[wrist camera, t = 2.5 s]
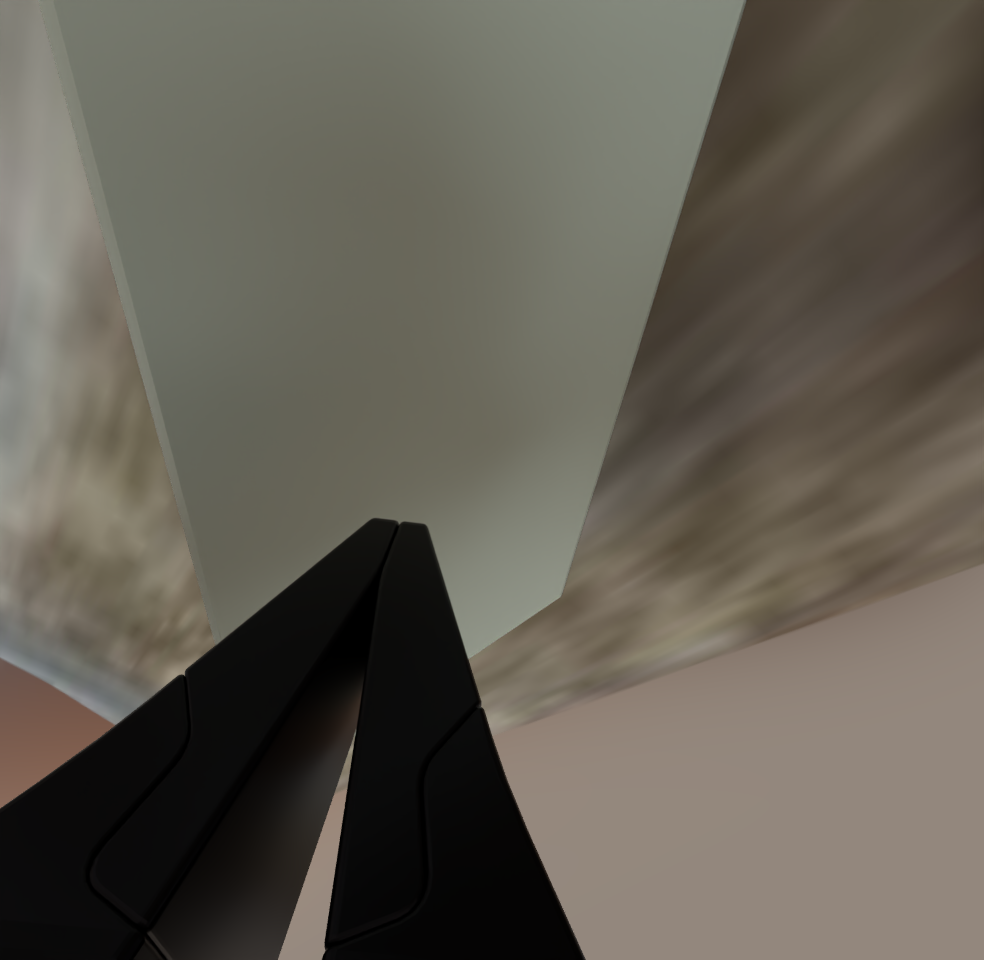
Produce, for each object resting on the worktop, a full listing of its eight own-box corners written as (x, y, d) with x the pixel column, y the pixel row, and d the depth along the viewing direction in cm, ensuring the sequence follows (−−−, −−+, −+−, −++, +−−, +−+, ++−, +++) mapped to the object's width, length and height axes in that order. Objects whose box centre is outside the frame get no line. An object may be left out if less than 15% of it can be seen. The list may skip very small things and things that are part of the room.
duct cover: (747, -98, 10) (786, -104, 10) (552, 581, 21) (566, 592, 21) (-258, -1079, 3) (-292, -1313, 2) (250, 773, 14) (262, 798, 13)
